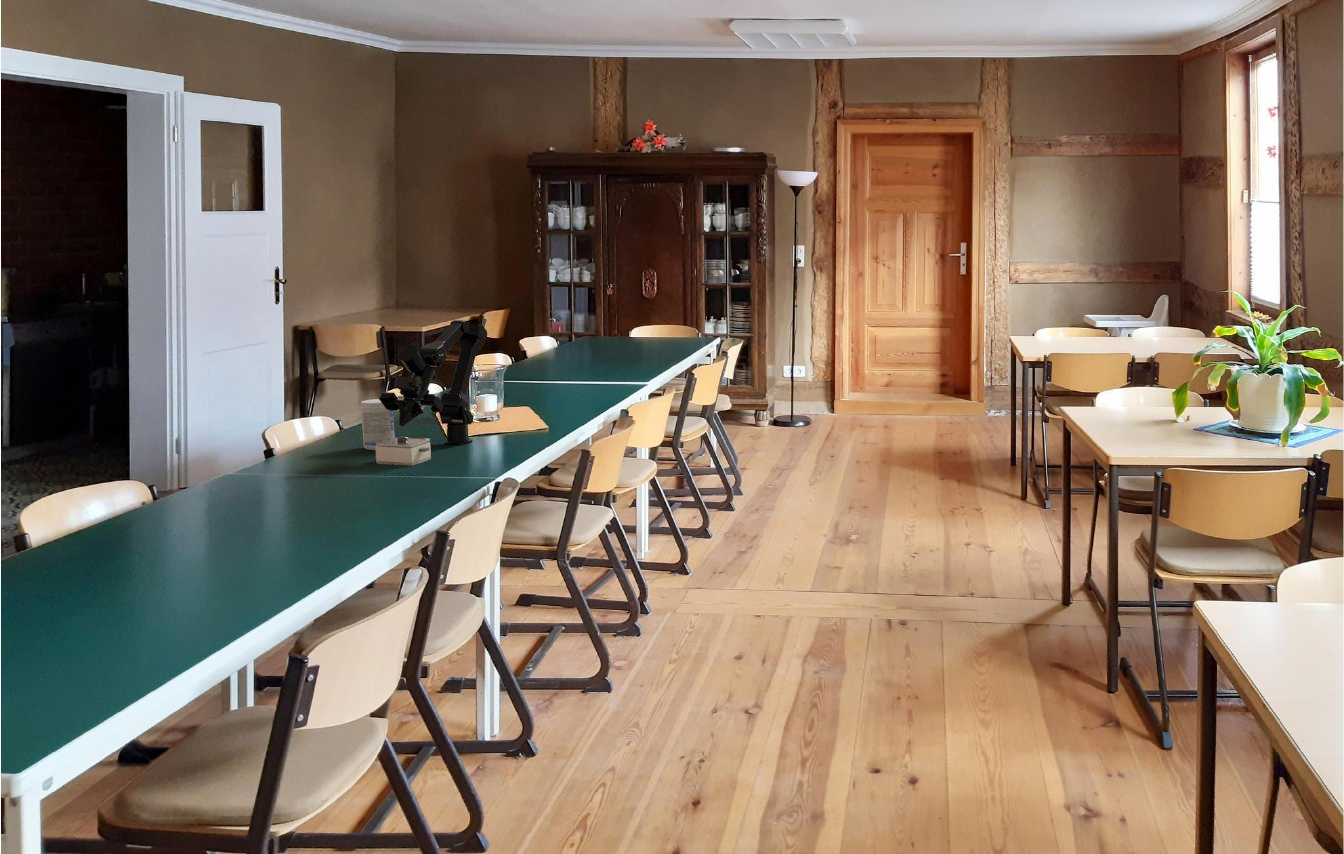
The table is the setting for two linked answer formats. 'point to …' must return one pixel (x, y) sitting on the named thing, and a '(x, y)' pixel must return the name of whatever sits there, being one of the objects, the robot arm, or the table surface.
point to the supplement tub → (376, 423)
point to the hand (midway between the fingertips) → (401, 425)
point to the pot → (403, 454)
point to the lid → (403, 442)
